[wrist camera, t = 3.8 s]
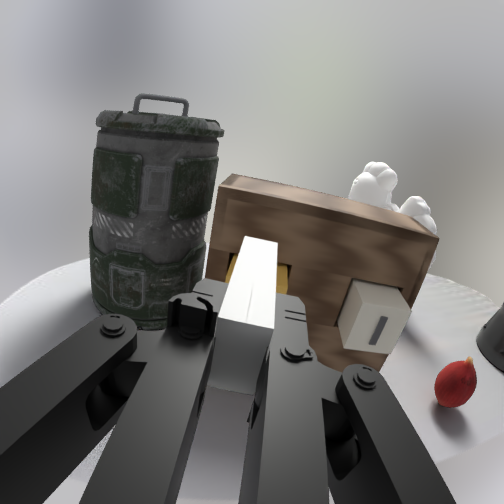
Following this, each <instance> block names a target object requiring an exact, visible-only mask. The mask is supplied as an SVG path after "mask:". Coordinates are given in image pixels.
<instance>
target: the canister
mask: <svg viewBox="0 0 504 504" xmlns="http://www.w3.org/2000/svg"><path fill="white" fill-rule="evenodd" d="M141 99H151V100H160V101H169V102H176V103H183V104H184V108H183V114H182V116H174V115H167V114H157V113H144V112H139V111H138V110H139V104H140V100H141ZM188 108H189V103H188V101H187V100H186V99H183V98H176V97H169V96H161V95H153V94H144V93H143V94H139V95H138V96H137V97H136V99H135V102H134V108H133V111H129V112H128V113H123V111H108V110H107V111H106V110H104V111H103V112H101V113H100V114H99V116H98V117H97V119H96V125H97V126H98V127H101V130H99V131H98V135H97V145H96V148H95V149H94V157H93V172H92V189H91V203H92V204H93V216H92V217H93V218H92V226H91V227H90V231H89V247H90V272H91V288H92V295H93V301H94V303H95V305H96V307H97V308H98V310H99V311H100V312H101V313H102V314H103V315H106V314H121V315H124V316H127V317H129V318H130V319H132V320H133V321H134V322H135V324H136V326H140V327H142V329H143V330H154V329H162V328H166V327H167V317H168V302H169V300H170V299H171V298H172V297H173V296H176V295H179V294H184V293H191V292H192V290H193V289H194V287H195V285H196V283H198V282H199V281H201V280H202V275H203V267H204V260H205V252H206V242H205V241H204V235H205V228H206V221H207V215H208V211H210V209H211V203H212V197H213V191H214V185H215V179H216V173H217V167H218V161H219V158H218V156H217V152H218V146H219V142H218V140H217V137H223V135H224V130H223V129H221V128H220V125H219V123H218V122H217V121H216V120H209V119H203V118H196V117H188V116H187V114H188Z"/></svg>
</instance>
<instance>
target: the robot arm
mask: <svg viewBox="0 0 504 504" xmlns="http://www.w3.org/2000/svg"><path fill="white" fill-rule="evenodd" d="M277 246H278V243H276V242H271V241H267V240H262V239H257V238H253V237H248V236H245V237H244V240H243V243H242V246H241V249H240V252H239V255H238V258H237V261H236V264H235V267H234V270H233V273H232V276H231V279H230V282H229V283H225V282H220V281H216V280H211V279H207V278H204V279H203V280H201V281H199V282H198V283H196V285H195V287H194V289H193V290H192V292H191V293H184V294H179V295H176V296H173V297H172V298H171V299H170V300H169V302H168V317H167V327H166V329H164V330H159V331H142V330H137V326H136V324H135V322H134V321H133V320H132V319H130V318H129V317H127V316H124V315H121V314H106V315H102V316H100V317H98V318H96V319H94V320H93V321H91V322H90V323H89V324H87V325H86V326H84V327H83V328H81V329H80V330H79V331H77V332H76V333H74V334H73V335H72V336H70V337H69V338H67V339H66V340H65V341H63V342H62V343H60V344H59V345H58V346H56V347H55V348H54V349H52V350H51V351H49V352H48V353H47V354H45V355H44V356H43V357H41V358H40V359H38V360H37V361H36V362H34V363H33V364H32V365H30V366H29V367H28V368H26V369H25V370H24V371H22V372H21V373H20V374H18V375H17V376H16V377H14V378H13V379H12V380H10V381H9V382H8V383H6V384H5V385H4V386H2V387H1V388H0V504H43V503H44V501H45V500H46V499H47V498H48V497H49V496H50V495H51V494H52V493H53V492H54V491H55V490H56V488H58V486H59V485H60V484H61V483H62V482H63V481H64V480H65V479H66V478H67V477H68V476H69V475H70V474H71V473H72V471H73V470H74V469H75V468H76V467H77V466H78V465H79V464H80V463H81V462H82V461H83V460H84V458H85V457H86V456H87V455H88V454H89V453H90V452H91V451H92V450H93V449H94V448H95V446H96V445H97V444H98V443H99V442H100V441H101V440H102V439H103V438H104V437H105V436H106V434H107V433H108V432H109V431H110V430H111V429H112V428H113V427H114V426H115V425H116V426H115V428H114V430H113V432H112V434H111V436H110V438H109V440H108V442H107V444H106V446H105V448H104V450H103V452H102V455H101V457H100V459H99V461H98V463H97V465H96V467H95V469H94V472H93V474H92V476H91V478H90V480H89V482H88V485H87V487H86V489H85V491H84V494H83V496H82V498H81V500H80V502H79V504H176V500H177V497H178V493H179V489H180V486H181V482H182V478H183V474H184V471H185V467H186V463H187V460H188V456H189V452H190V448H191V445H192V441H193V437H194V434H195V430H196V426H197V423H198V419H199V415H200V412H201V408H202V405H203V401H204V396H205V390H206V385H207V386H211V387H215V388H219V389H224V390H229V391H233V392H238V393H243V394H248V395H254V393H255V398H254V401H253V404H252V408H251V411H250V414H249V417H248V420H247V422H249V430H248V438H247V445H246V453H245V460H244V467H243V475H242V482H241V489H240V496H239V503H238V504H329V489H330V491H331V494H332V497H333V500H334V503H335V504H456V502H455V500H454V498H453V496H452V494H451V493H450V491H449V489H448V487H447V486H446V484H445V482H444V480H443V478H442V476H441V474H440V473H439V471H438V469H437V467H436V465H435V464H434V462H433V460H432V458H431V456H430V455H429V453H428V451H427V449H426V448H425V446H424V444H423V443H422V441H421V439H420V437H419V436H418V434H417V432H416V431H415V429H414V427H413V425H412V424H411V422H410V420H409V419H408V417H407V415H406V414H405V412H404V410H403V409H402V407H401V405H400V404H399V402H398V400H397V399H396V397H395V395H394V394H393V392H392V390H391V389H390V387H389V386H388V384H387V382H386V381H385V379H384V378H383V376H382V375H381V374H380V373H379V372H378V371H376V370H375V369H373V368H372V367H369V366H366V365H363V364H353V365H349V366H347V367H346V368H345V369H344V370H343V372H339V371H337V370H334V369H331V368H329V367H327V366H325V365H323V364H321V363H320V362H318V361H317V356H316V353H315V351H314V350H313V349H312V348H311V347H310V346H309V342H308V332H307V323H306V315H305V314H306V313H305V305H304V304H303V303H302V301H301V300H300V299H299V297H295V296H290V295H286V294H281V293H276V273H277ZM477 344H478V346H479V348H480V350H481V352H482V353H483V354H484V356H485V357H486V358H487V359H488V360H489V361H490V362H491V363H492V364H494V365H495V366H496V367H497V368H499V369H500V370H502V371H504V303H503V305H502V307H501V308H500V309H499V310H498V311H497V312H496V313H495V315H494V316H493V317H492V318H491V319H490V320H489V321H488V322H487V323H486V324H485V325H484V326H483V327H482V329H481V330H480V332H479V334H478V336H477ZM255 390H256V391H255ZM328 486H329V489H328Z"/></svg>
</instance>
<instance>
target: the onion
mask: <svg viewBox="0 0 504 504" xmlns="http://www.w3.org/2000/svg"><path fill="white" fill-rule="evenodd" d="M476 384H477V377H476V371H475V368H474V365H473V359H472V358H471V357H468V358H467V360H466V361H456V362H453V363H450V364H449V365H447V366H446V367H445V368H444V369H442V371H441V372H440V373H439V374H438V376H437V378H436V381H435V387H434V389H435V395H436V398H437V400H438V403H439V404H440V405H441V406H445V407H449V408H451V407H458V406H461V405H463V404H465V403H466V402H467V401H468V400H469V398H470V397H471V396H472V394H473V393H474V391H475V388H476Z"/></svg>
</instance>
